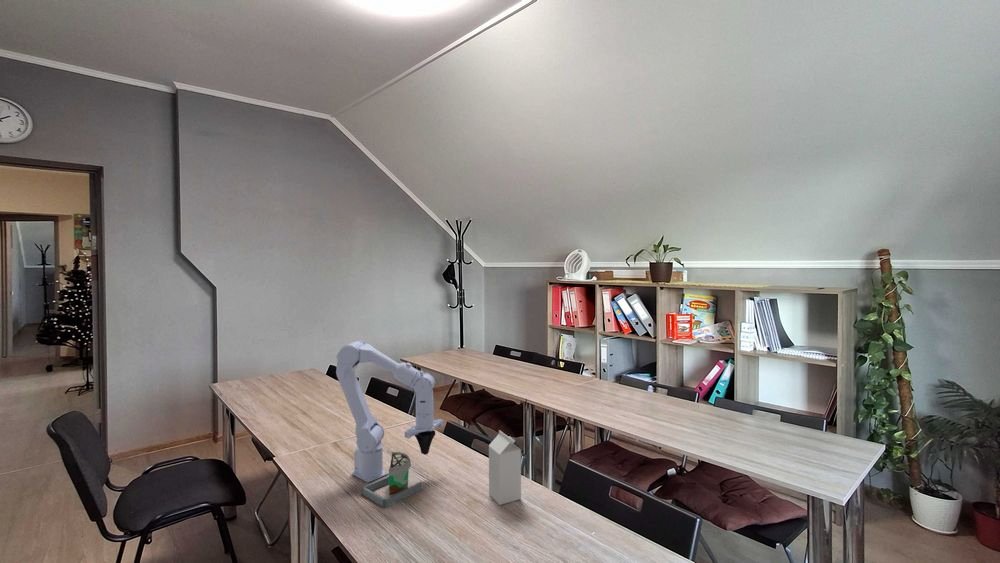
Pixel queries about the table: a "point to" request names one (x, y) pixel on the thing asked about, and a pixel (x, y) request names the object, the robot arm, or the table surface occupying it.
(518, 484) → the milk carton
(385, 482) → the u-shaped bracket
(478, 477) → the table surface
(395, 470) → the food container
